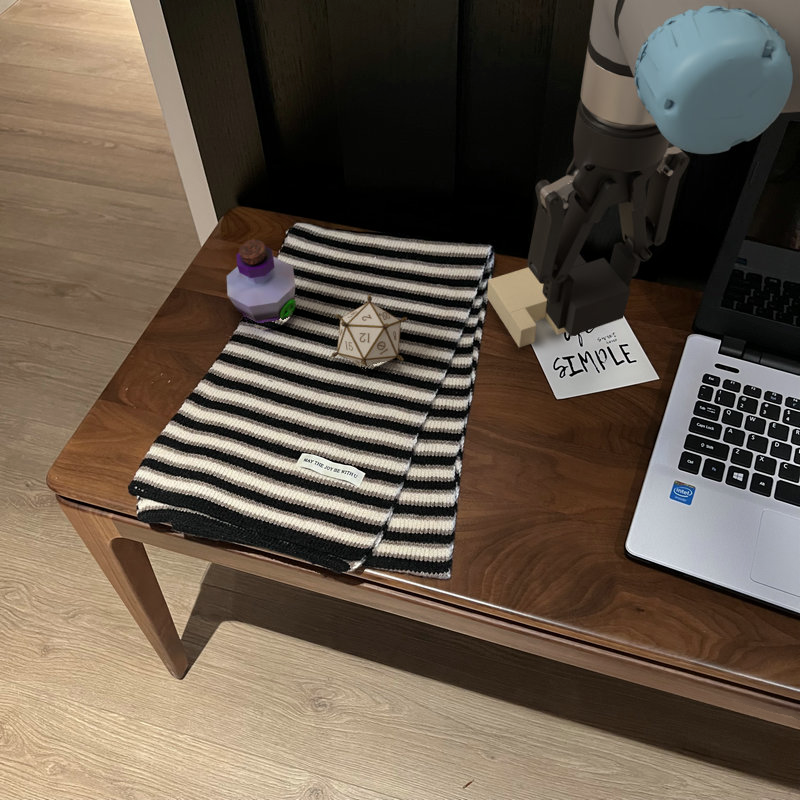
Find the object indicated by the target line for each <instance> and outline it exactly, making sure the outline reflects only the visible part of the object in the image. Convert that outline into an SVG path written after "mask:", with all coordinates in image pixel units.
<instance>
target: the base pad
mask: <svg viewBox="0 0 800 800" xmlns="http://www.w3.org/2000/svg"><path fill="white" fill-rule="evenodd" d="M543 285H544V284H541V283H540V282H539V281H538V280H537V278H536V277H535V276H534V274H533V273H532V272H531V270H530V269H529V267H528V266H527V267H525V268H522V269H519V270H515V271H512V272H509V273H506V274H502V275H499V276H496V277H493V278H490V279H488V280H487V293H486V294H487V295H486V298H487V299H488V301H489V302H490V304H491V306H492V307H493V309H494V310H495V312H496V314H497V315H498V317H499V319H500V321H502V323H503V325H504V326H505V328H506V329H507V331H508V333H509V334H510V335H511V337H512V339H513V340H514V342H515V344H516V345H517V347H518V348H523V347H525V346H528V345H531V344H534V343H535V341H536V340H535V339H536V332H537V327H538V325H537V323H536V322H539V321H540V320H543V319H545V320H546V321H547V323H548V325H549V326H550V327H551V329H552V330H553V331H554V333H555V334H556V335H557V336H559V335H561V334H565V333H568V332H567V331H566V330H565V328H561V329H558V328H557V327H556V325H555V324H554V323H553V321H552V320H551V318H550V317H549V316H548V314H547V313H546V304H547V299H546V298H545V296H544V295H543V292H542V291H543Z"/></svg>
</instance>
